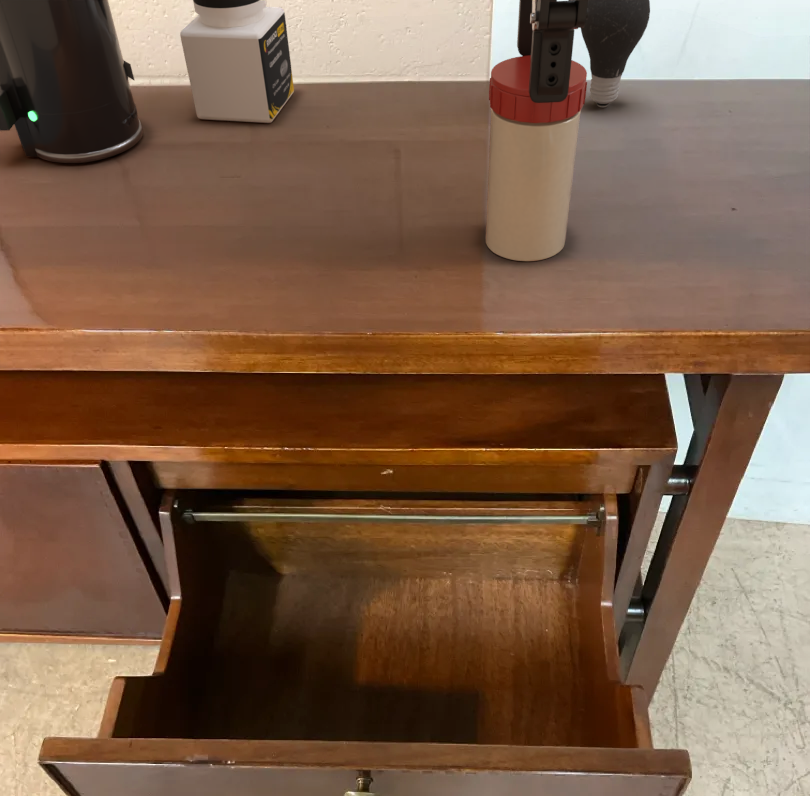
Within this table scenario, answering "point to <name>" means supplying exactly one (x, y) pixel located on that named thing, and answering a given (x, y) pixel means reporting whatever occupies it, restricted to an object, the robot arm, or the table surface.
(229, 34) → the medicine bottle
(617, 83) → the light bulb
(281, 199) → the table surface
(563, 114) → the lid
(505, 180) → the jar
